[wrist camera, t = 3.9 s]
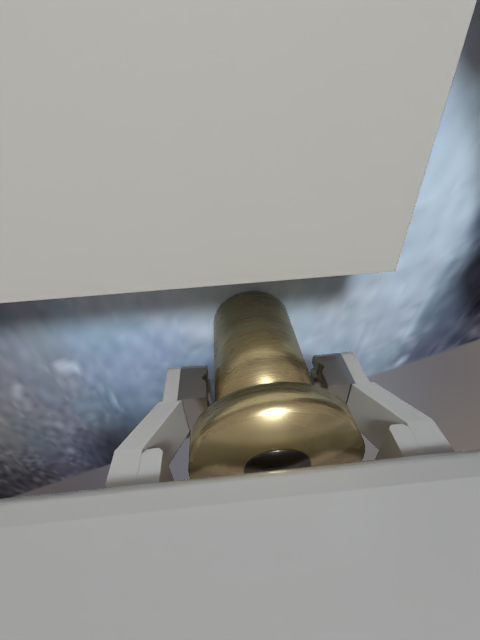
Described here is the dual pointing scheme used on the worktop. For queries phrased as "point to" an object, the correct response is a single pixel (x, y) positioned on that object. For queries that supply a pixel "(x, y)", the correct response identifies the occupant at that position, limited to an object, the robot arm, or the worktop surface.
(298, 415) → the bushing
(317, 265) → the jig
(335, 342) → the worktop surface
